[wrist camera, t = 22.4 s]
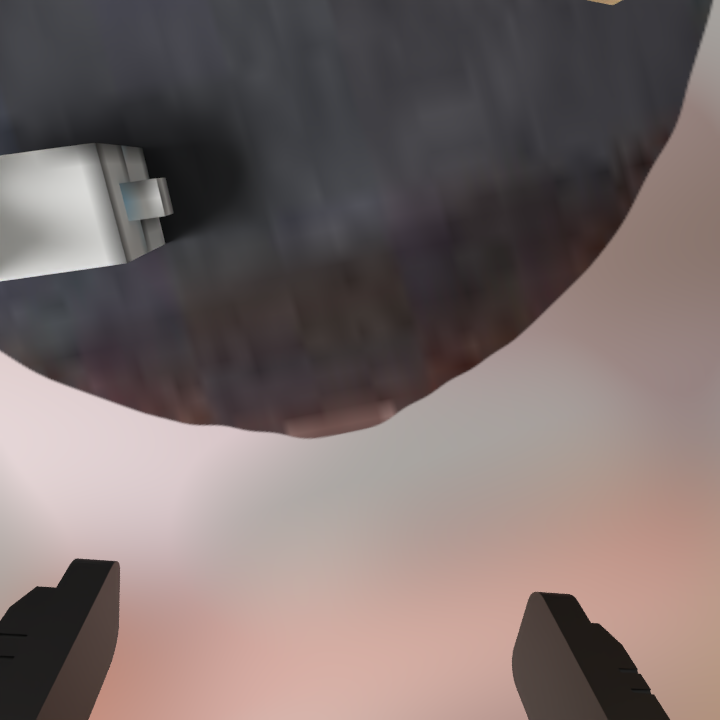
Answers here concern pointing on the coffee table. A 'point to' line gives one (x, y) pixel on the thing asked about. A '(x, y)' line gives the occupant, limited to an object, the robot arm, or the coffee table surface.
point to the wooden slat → (607, 1)
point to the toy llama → (77, 209)
